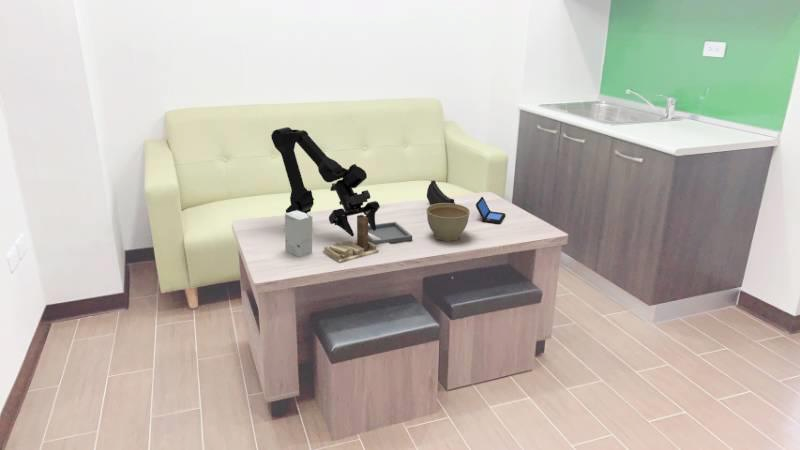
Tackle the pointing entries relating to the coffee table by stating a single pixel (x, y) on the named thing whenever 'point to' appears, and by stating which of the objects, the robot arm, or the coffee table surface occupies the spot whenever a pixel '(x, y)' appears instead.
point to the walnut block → (362, 232)
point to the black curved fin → (437, 195)
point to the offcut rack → (357, 251)
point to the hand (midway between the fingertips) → (364, 233)
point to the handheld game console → (488, 213)
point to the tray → (389, 233)
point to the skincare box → (298, 233)
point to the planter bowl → (447, 220)
